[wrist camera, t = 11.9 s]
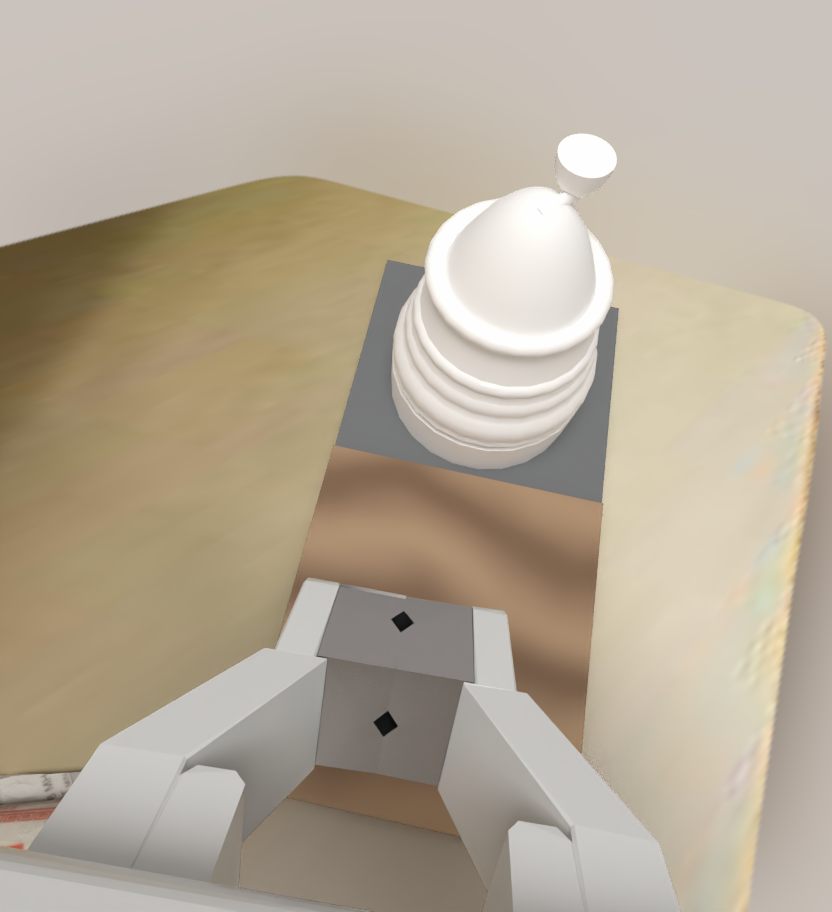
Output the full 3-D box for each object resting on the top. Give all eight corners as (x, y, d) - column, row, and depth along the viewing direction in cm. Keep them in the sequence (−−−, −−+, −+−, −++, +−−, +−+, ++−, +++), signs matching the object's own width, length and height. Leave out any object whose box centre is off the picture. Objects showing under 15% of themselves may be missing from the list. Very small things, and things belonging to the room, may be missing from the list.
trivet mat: (600, 506, 38) (601, 505, 38) (334, 448, 39) (334, 447, 38) (617, 310, 44) (618, 308, 44) (387, 261, 45) (387, 259, 44)
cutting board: (568, 858, 31) (571, 862, 30) (238, 784, 31) (236, 785, 31) (599, 506, 38) (602, 503, 38) (334, 448, 39) (333, 445, 38)
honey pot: (487, 280, 44) (555, 34, 28) (608, 398, 41) (768, 201, 24) (353, 369, 41) (338, 148, 24) (475, 507, 37) (554, 362, 21)
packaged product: (-308, 1093, 22) (-217, 797, 26) (-193, 1025, 27) (-129, 781, 31) (172, 1047, 24) (194, 771, 27) (204, 989, 28) (220, 760, 32)
